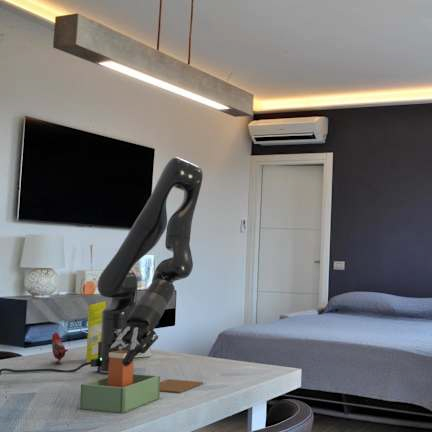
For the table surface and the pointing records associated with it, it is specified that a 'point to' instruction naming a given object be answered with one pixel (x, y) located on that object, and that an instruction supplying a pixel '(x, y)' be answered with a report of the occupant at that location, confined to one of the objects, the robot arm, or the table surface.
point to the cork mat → (177, 385)
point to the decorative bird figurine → (58, 347)
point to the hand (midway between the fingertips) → (116, 363)
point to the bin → (119, 394)
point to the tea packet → (119, 370)
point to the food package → (94, 329)
